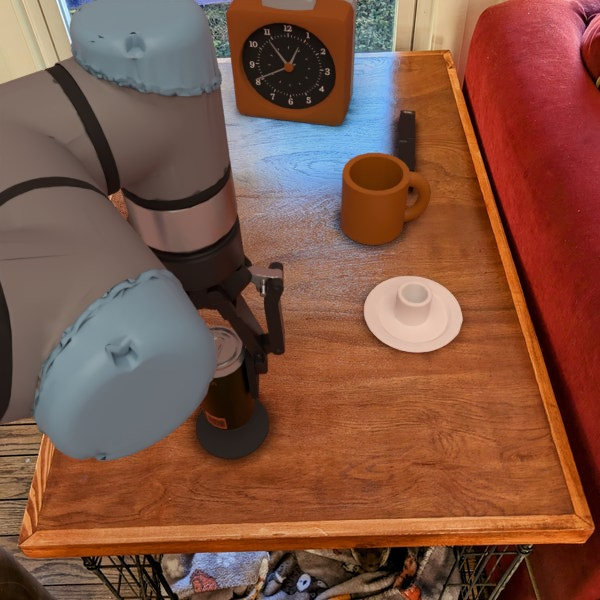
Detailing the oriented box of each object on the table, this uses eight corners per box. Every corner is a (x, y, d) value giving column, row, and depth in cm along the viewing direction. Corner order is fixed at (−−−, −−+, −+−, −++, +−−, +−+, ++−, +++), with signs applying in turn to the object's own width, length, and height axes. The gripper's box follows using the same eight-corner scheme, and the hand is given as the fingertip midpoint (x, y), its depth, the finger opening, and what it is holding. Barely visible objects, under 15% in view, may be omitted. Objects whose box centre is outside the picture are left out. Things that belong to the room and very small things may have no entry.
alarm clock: (235, 116, 106) (221, -7, 90) (250, 87, 111) (238, -34, 95) (343, 129, 103) (348, 4, 87) (353, 98, 108) (358, -25, 92)
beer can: (246, 438, 65) (234, 377, 55) (197, 427, 66) (177, 365, 56) (261, 394, 68) (252, 329, 58) (214, 384, 69) (197, 318, 59)
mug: (425, 250, 85) (435, 200, 78) (337, 243, 86) (339, 193, 79) (426, 205, 91) (435, 155, 84) (343, 199, 92) (345, 149, 85)
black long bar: (413, 195, 92) (415, 179, 90) (395, 194, 92) (397, 178, 90) (414, 123, 103) (416, 107, 101) (398, 122, 103) (400, 106, 101)
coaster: (217, 473, 66) (217, 471, 65) (184, 416, 70) (183, 414, 70) (282, 435, 68) (282, 433, 68) (246, 382, 73) (246, 380, 72)
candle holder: (480, 331, 76) (488, 308, 73) (398, 371, 73) (402, 350, 70) (423, 267, 83) (428, 244, 80) (345, 301, 80) (346, 279, 76)
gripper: (312, 180, 47) (314, 353, 65) (68, 190, 47) (138, 360, 65) (316, 252, 43) (318, 417, 61) (46, 263, 43) (128, 425, 61)
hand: (224, 387), depth 63 cm, fingers closed on beer can, 5 cm apart
